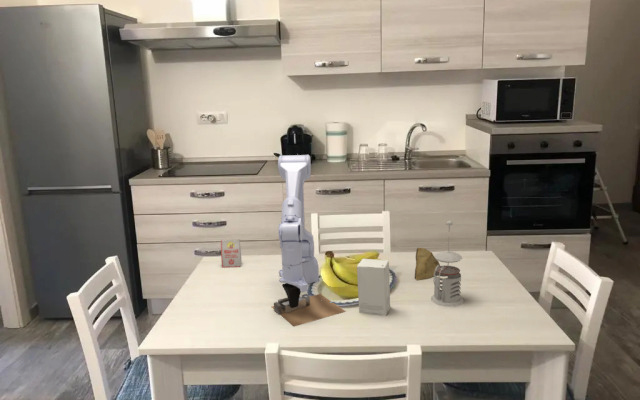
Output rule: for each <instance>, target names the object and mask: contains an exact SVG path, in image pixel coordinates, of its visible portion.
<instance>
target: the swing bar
mask: <svg viewBox="0 0 640 400" xmlns="http://www.w3.org/2000/svg"><path fill="white" fill-rule="evenodd" d="M310 296H311V295H310V294H307V293H304V294H301V296H300V297H299V304H298V307H294V308H291V307H290V304H289V301H287V302H284V303H282V311H283V312H285V313H288V312H291V311H293V310H296V309H299V308H302V307H305V306H309V305H310Z"/></svg>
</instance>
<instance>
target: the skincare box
mask: <svg viewBox="0 0 640 400" xmlns="http://www.w3.org/2000/svg"><path fill="white" fill-rule="evenodd" d="M356 269H357V270H356V273H357V274H356V275H357V276H356V277H357V298H358V313H361V314H368V315H375V316H376V315H377V316H387V315H388V313H389V311H390V309H391V290H390V287H391V285H390V261H389V259H376V258H375V259H374V258H373V259H372V258H362V259H361V260H360V261H359V262H358V264H357V266H356Z"/></svg>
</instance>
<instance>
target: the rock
mask: <svg viewBox="0 0 640 400" xmlns="http://www.w3.org/2000/svg"><path fill="white" fill-rule="evenodd" d="M415 251H416V252H415V269H414V280H416V281H420V280H427V279H429V278H434V277H435V276H434V272H435V269H436V267H437V265H438V267H439V266H441V264H440V261H437V260H436V259H435V255H434V253H433V252H431V251H430V250H428V249H427V248H424V247H417V248H416V250H415Z"/></svg>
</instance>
